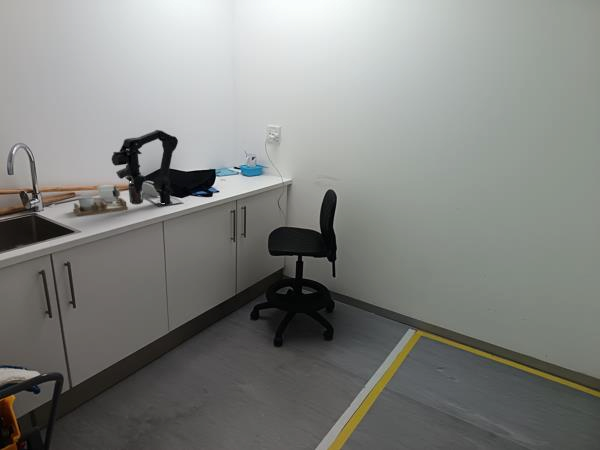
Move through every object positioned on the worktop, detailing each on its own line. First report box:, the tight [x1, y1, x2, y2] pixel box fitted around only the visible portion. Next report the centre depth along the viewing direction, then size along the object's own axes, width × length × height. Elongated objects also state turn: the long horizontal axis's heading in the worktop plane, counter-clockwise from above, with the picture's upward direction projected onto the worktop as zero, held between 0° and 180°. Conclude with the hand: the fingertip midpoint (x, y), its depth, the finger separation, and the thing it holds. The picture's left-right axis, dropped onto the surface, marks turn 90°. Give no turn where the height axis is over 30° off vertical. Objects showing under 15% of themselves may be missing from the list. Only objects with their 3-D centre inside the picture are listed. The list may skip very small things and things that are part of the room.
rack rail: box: [72, 196, 129, 217], centre depth 218 cm, size 10×25×8 cm, turn 129°
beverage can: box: [127, 181, 144, 205], centre depth 219 cm, size 7×7×12 cm
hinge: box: [142, 180, 160, 197], centre depth 252 cm, size 17×5×10 cm, turn 53°
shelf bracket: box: [97, 184, 121, 204], centre depth 234 cm, size 6×25×13 cm, turn 44°
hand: (135, 191), depth 219 cm, fingers closed on beverage can, 7 cm apart
